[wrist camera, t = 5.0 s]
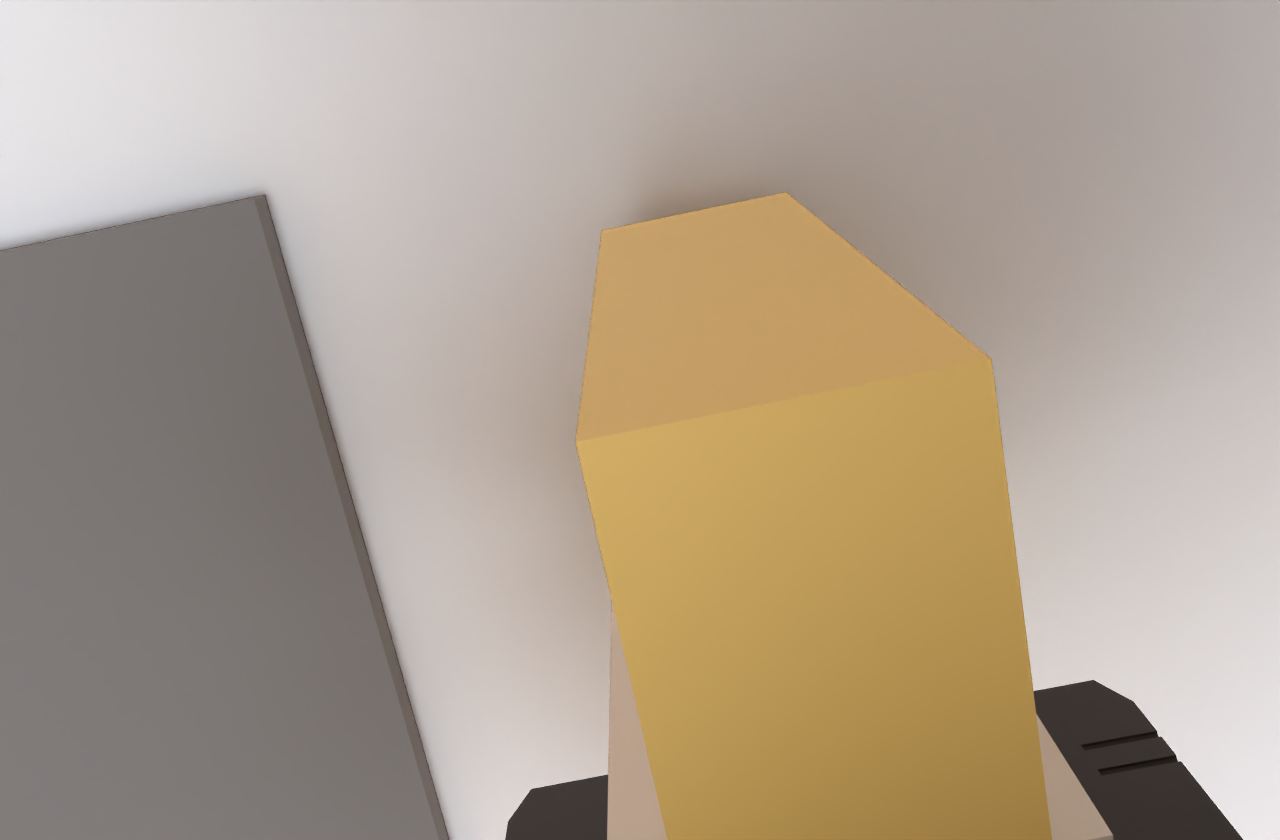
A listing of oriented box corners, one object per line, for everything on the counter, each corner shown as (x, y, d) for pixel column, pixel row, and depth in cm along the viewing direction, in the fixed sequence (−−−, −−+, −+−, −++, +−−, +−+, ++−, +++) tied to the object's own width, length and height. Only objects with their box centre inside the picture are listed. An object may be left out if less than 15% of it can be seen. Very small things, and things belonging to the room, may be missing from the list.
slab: (601, 230, 16) (575, 442, 7) (785, 192, 15) (991, 357, 7) (752, 934, 19) (862, 1684, 10) (906, 906, 19) (1152, 1641, 10)
